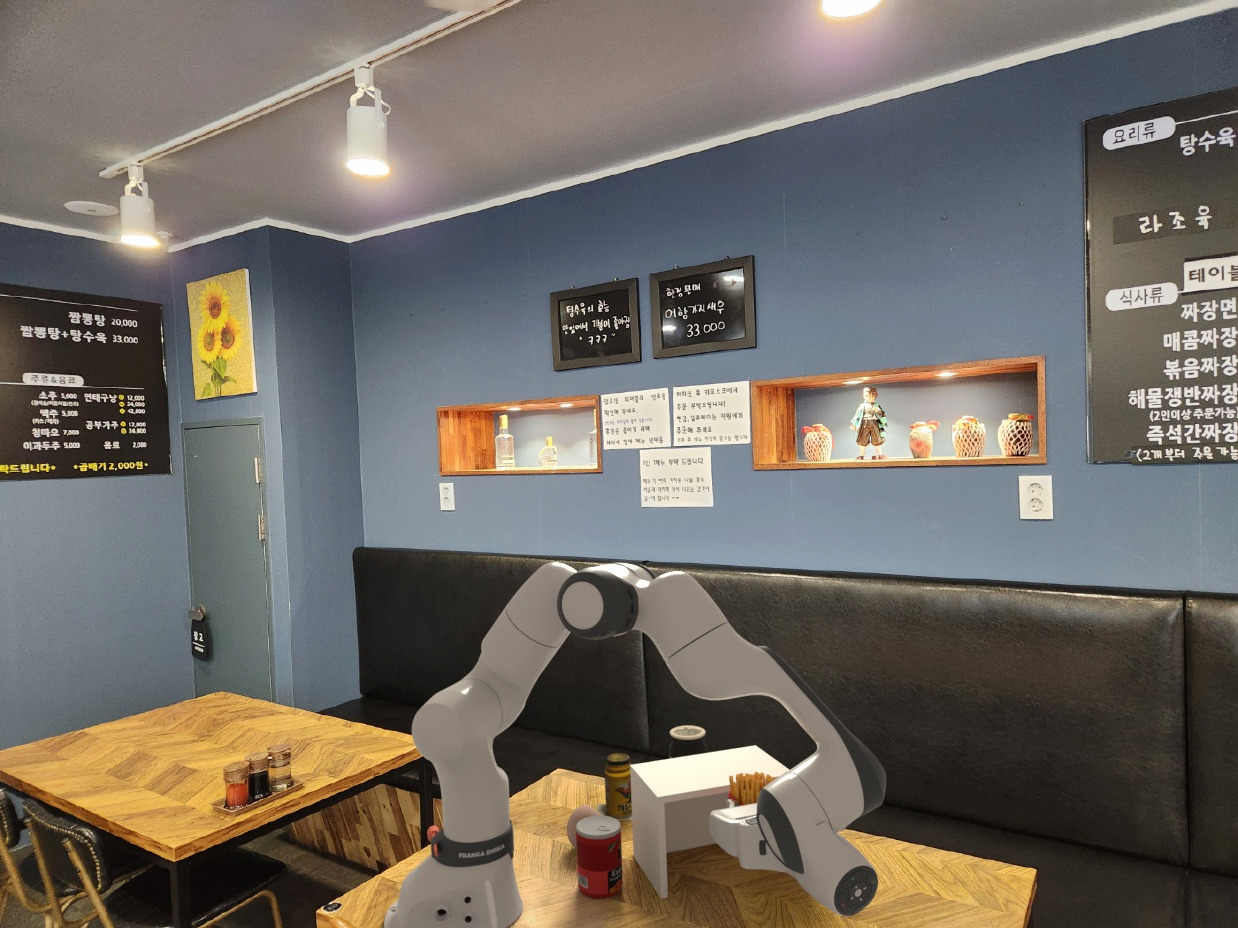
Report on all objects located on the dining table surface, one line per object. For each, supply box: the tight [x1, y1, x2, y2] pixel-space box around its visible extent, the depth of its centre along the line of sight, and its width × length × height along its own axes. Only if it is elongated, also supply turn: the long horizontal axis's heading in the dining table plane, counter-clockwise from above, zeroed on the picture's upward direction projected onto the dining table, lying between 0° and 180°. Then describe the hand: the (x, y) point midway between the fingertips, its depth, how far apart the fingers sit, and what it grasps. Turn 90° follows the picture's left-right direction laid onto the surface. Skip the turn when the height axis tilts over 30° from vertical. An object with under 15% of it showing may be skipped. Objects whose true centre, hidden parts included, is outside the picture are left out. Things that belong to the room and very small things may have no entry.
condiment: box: [596, 752, 632, 821], centre depth 161 cm, size 7×8×12 cm
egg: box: [566, 804, 600, 850], centre depth 146 cm, size 7×7×8 cm
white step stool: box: [630, 744, 790, 899], centre depth 139 cm, size 26×15×17 cm, turn 107°
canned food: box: [576, 816, 624, 900], centre depth 132 cm, size 8×8×11 cm
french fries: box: [729, 772, 775, 806], centre depth 124 cm, size 8×4×12 cm, turn 73°
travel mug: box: [668, 725, 709, 759], centre depth 158 cm, size 8×8×18 cm
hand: (751, 799), depth 124 cm, fingers closed on french fries, 6 cm apart
